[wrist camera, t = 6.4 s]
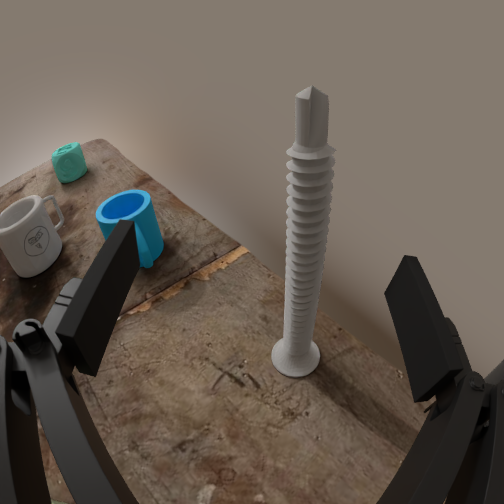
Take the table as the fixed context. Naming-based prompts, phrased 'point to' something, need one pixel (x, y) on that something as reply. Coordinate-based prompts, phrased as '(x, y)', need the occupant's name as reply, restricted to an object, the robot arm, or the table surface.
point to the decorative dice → (69, 163)
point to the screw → (305, 233)
